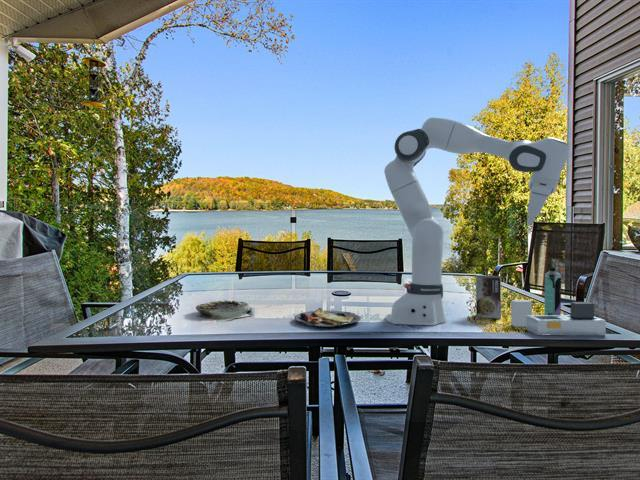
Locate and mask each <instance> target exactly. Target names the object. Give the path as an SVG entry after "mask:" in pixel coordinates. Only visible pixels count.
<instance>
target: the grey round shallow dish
mask: <svg viewBox="0 0 640 480" xmlns="http://www.w3.org/2000/svg"><path fill="white" fill-rule="evenodd" d="M195 309H196V310H197V311H198V312H199V314H200V317H203V318H206V319H210V322H216V323H217V322H224V321H232V320H237V319H242V318H243V317H244V316H245V315H248V316H245V318H247V317H250V316H253V315H254V314H253V312H252V309H253V307H251V305H250V304H249V303H246V302H245V301H237V300H218V301H210V302H206V303H201V304H198V305H196V306H195Z"/></svg>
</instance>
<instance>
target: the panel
mask: <svg viewBox="0 0 640 480" xmlns="http://www.w3.org/2000/svg"><path fill="white" fill-rule="evenodd" d="M510 302H511V303H510V311H511V312H510V325H511V326H513V327H515V328H518V327H523V328H524V327H525V328H526V315H533V313H532V312H533V307H532V306H533V303H532V301H531V300H529V299H511V301H510Z"/></svg>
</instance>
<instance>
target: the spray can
mask: <svg viewBox="0 0 640 480" xmlns="http://www.w3.org/2000/svg"><path fill="white" fill-rule="evenodd" d="M549 269H550V270H548V271H547V272H546V273H544V274H545V275H544V313H543V315H562V313H561V312H562V311H561V310H562V274H561V273H559V272H558V271H557V269H556V267H550V268H549Z"/></svg>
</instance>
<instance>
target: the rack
mask: <svg viewBox="0 0 640 480" xmlns="http://www.w3.org/2000/svg"><path fill="white" fill-rule="evenodd" d="M606 322H607V320H606V319H602V318H601V317H597V316H595V303H593V302H591V301H571V302H570V314H564V315H563V314H561V315H544V314H535V315H534V314H532V315H526V327H525V329H526V330H527V331H529V332H530V333H532V334H534V335H536V334H537V335H536V336H538V335H543V334H550V335H567V336H606V329H607V328H606V326H607V325H606Z"/></svg>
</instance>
